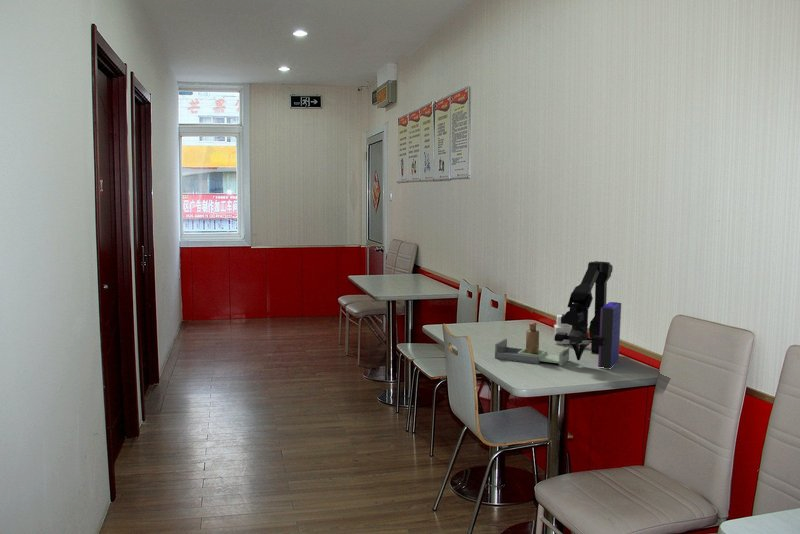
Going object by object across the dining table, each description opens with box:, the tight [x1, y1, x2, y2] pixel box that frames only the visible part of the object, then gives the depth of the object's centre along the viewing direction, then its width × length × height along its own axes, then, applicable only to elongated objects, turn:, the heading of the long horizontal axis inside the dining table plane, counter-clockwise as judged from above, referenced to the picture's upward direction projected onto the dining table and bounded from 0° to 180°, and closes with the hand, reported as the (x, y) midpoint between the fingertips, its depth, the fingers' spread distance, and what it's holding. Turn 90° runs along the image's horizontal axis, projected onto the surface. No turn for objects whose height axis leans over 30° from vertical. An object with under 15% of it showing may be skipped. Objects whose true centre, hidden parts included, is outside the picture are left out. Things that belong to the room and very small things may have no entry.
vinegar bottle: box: [525, 321, 540, 355], centre depth 280 cm, size 5×5×13 cm
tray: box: [518, 346, 570, 367], centre depth 279 cm, size 19×12×5 cm, turn 62°
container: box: [553, 313, 572, 345], centre depth 312 cm, size 8×8×13 cm
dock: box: [494, 338, 548, 365], centre depth 283 cm, size 18×12×6 cm, turn 62°
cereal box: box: [597, 301, 622, 369], centre depth 274 cm, size 17×5×24 cm, turn 152°
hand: (578, 360), depth 272 cm, fingers closed
